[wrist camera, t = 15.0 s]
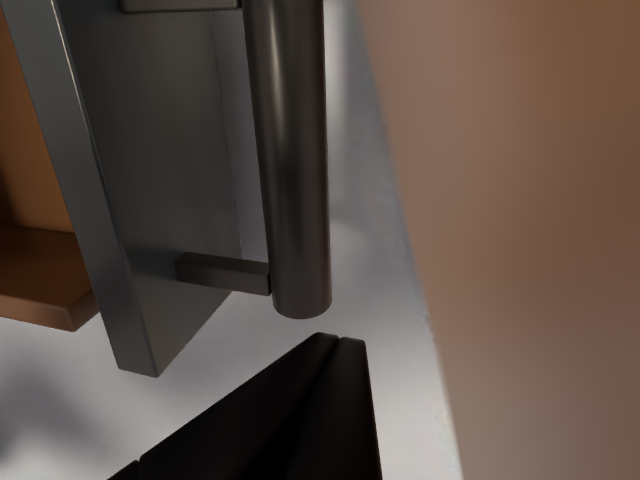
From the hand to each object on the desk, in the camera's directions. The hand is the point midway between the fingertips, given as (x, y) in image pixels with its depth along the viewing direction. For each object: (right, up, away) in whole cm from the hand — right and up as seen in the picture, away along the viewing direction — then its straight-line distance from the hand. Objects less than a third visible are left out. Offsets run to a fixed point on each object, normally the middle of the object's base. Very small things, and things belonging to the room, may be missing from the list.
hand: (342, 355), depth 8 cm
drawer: (-8, +6, +6) cm, 11 cm away
